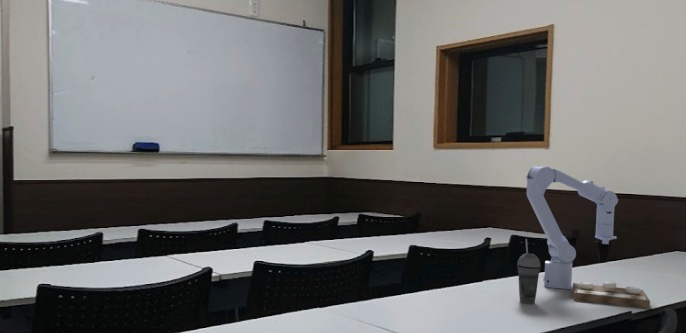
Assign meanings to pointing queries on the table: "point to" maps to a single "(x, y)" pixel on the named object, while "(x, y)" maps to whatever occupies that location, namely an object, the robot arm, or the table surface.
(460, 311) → the table surface
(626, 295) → the button board
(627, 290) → the button right
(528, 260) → the beverage cup
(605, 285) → the button middle
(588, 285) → the button left
